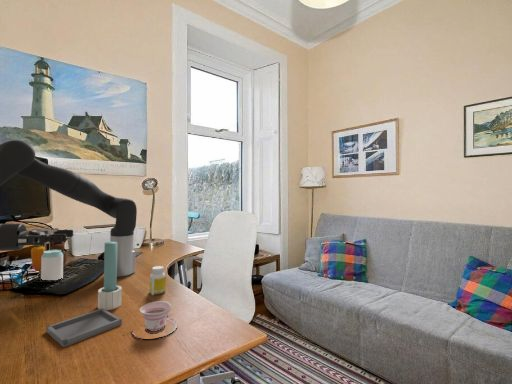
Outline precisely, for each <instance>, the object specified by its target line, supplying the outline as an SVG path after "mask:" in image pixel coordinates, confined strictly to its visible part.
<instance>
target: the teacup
mask: <svg viewBox="0 0 512 384" xmlns="http://www.w3.org/2000/svg"><path fill="white" fill-rule="evenodd" d="M171 307H172V304H171V302H170V301H167V300H156V301H152V302H148V303H146V304H144V305H142V306H141V307H140V308H139V312H140V313H141V315H143V318H144V320H145V321H144V326H145V327H146V330H147V329H148V330H151V331H156V330H159V331H161V330H162V329H163V328H164V325H165V324H166V320H169V321H171V322H173V323H174V324H175V328H174V329H173V331H174V332H176V330H177V329H178V326H177V325H179V324H178V322H177V320H175V319H174V318H171V317H168V315H169V313H170V311H171ZM176 328H177V329H176ZM160 329H161V330H160ZM151 331H150V332H151ZM173 331H171V332H170V333H172V332H173ZM174 332H173V333H174ZM170 333H169V334H170ZM173 333H172V334H173ZM132 334H134V333H133V330H132V332H131V335H132ZM134 335H135V334H134ZM170 335H171V334H170ZM135 336H136V335H135ZM164 336H165V335H164ZM136 337H138V336H136ZM161 337H162V336H161ZM139 338H141V337H139Z"/></svg>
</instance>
